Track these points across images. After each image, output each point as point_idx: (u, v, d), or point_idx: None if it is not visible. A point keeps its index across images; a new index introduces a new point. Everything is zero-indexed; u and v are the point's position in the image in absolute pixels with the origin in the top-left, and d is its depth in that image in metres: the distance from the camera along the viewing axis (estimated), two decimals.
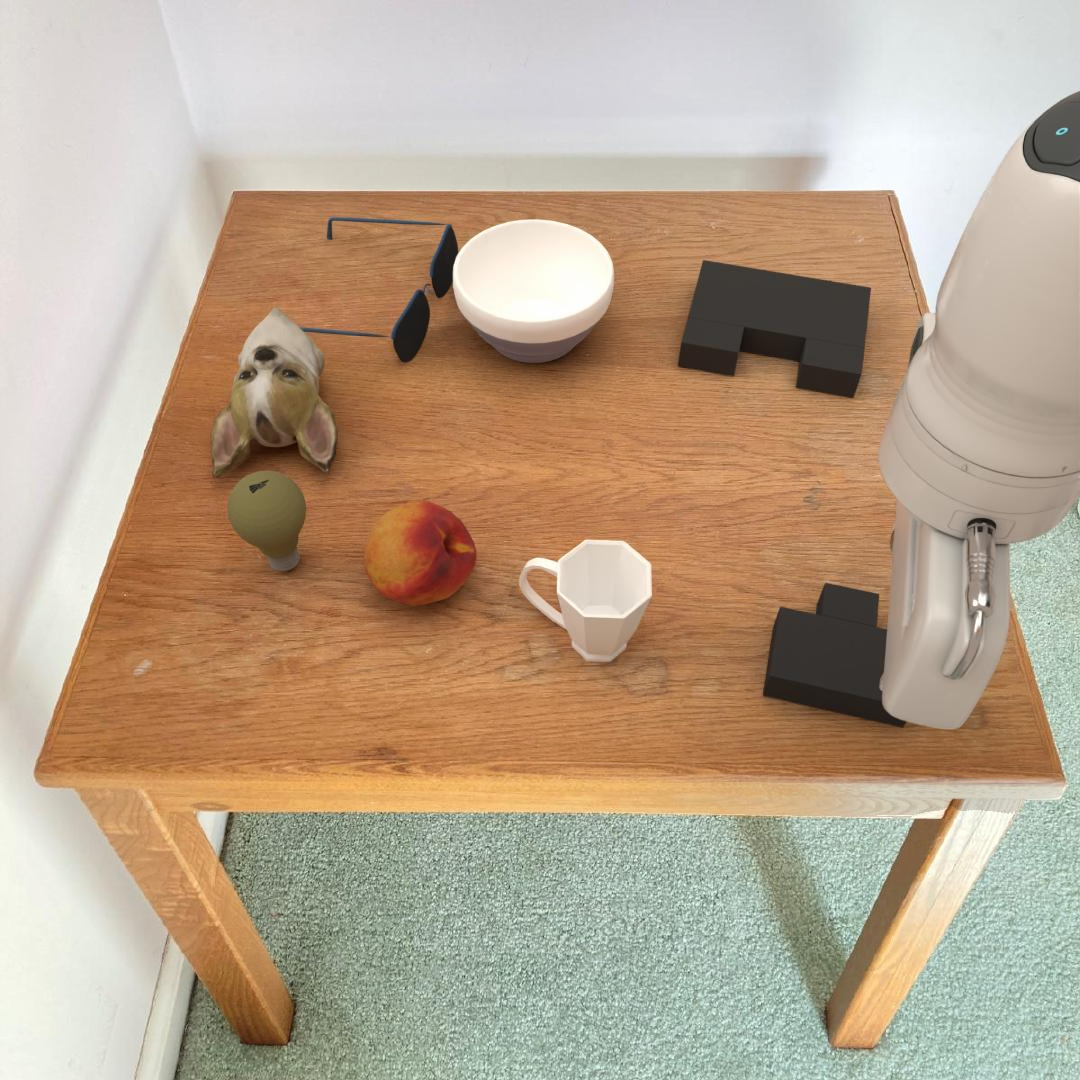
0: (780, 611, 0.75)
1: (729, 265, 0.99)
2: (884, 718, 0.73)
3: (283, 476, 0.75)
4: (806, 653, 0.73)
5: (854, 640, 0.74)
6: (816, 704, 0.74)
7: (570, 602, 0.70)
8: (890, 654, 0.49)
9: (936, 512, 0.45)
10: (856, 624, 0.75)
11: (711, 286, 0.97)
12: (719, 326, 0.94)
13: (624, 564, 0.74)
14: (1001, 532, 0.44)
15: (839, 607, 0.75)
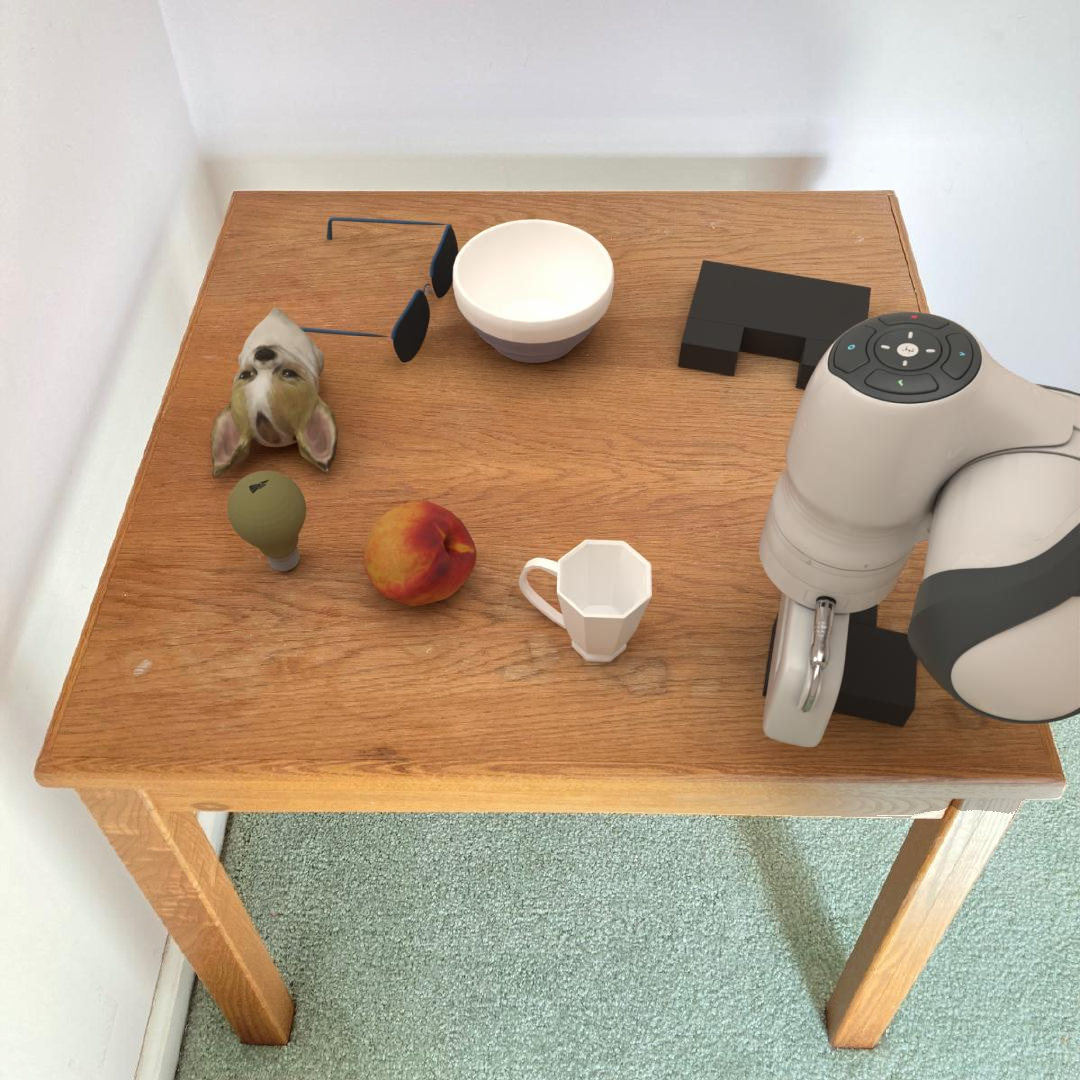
0: None
1: (729, 265, 0.99)
2: (884, 718, 0.73)
3: (283, 476, 0.75)
4: None
5: (853, 640, 0.74)
6: None
7: (570, 602, 0.70)
8: (768, 691, 0.66)
9: (795, 590, 0.62)
10: (855, 624, 0.75)
11: (711, 286, 0.97)
12: (719, 326, 0.94)
13: (624, 564, 0.74)
14: (840, 605, 0.62)
15: None
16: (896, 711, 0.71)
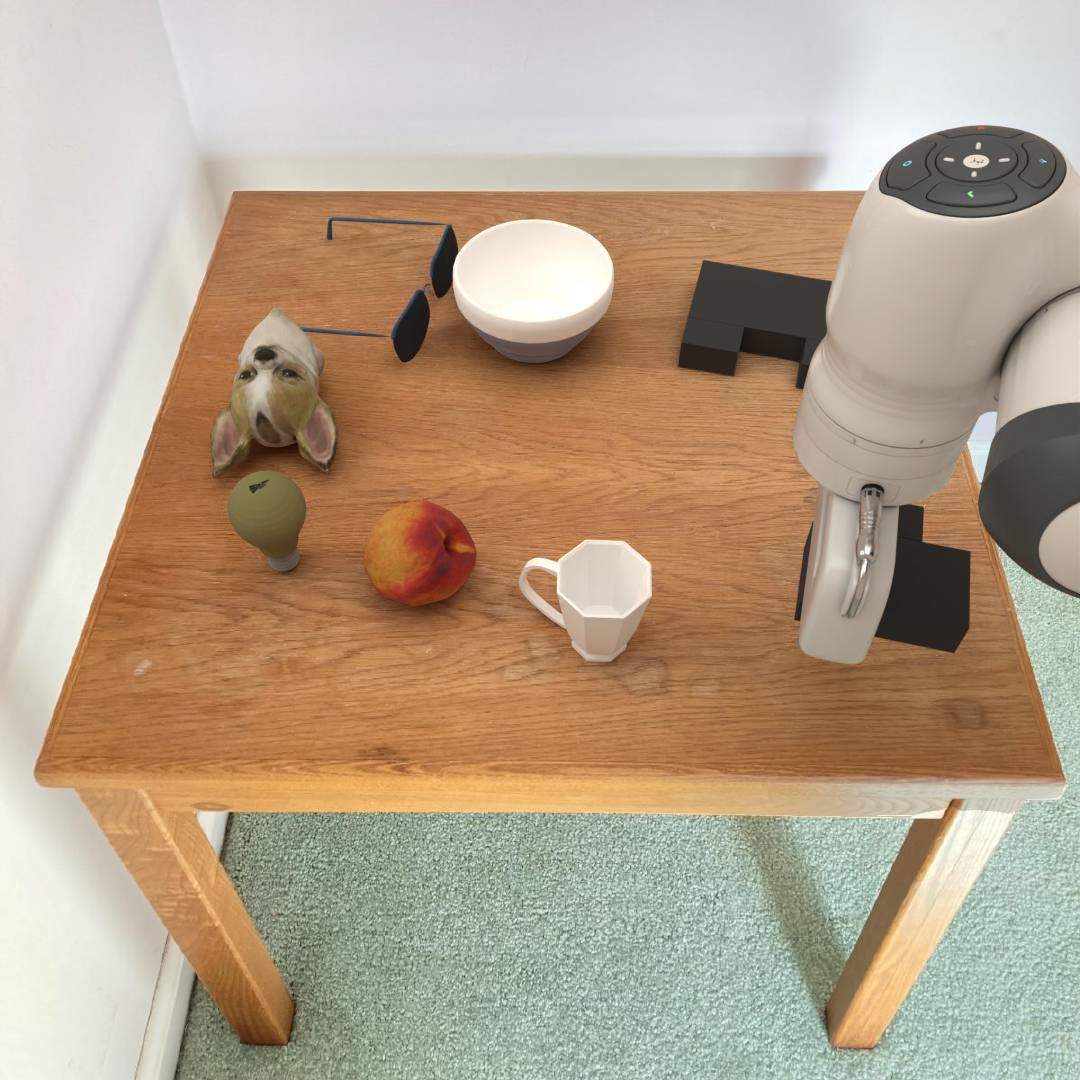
0: None
1: (729, 265, 0.99)
2: (933, 642, 0.64)
3: (283, 476, 0.75)
4: None
5: (897, 556, 0.65)
6: None
7: (570, 602, 0.70)
8: (805, 602, 0.57)
9: (836, 480, 0.54)
10: (899, 539, 0.66)
11: (711, 286, 0.97)
12: (719, 326, 0.94)
13: (624, 564, 0.74)
14: (889, 496, 0.53)
15: None
16: (948, 632, 0.63)
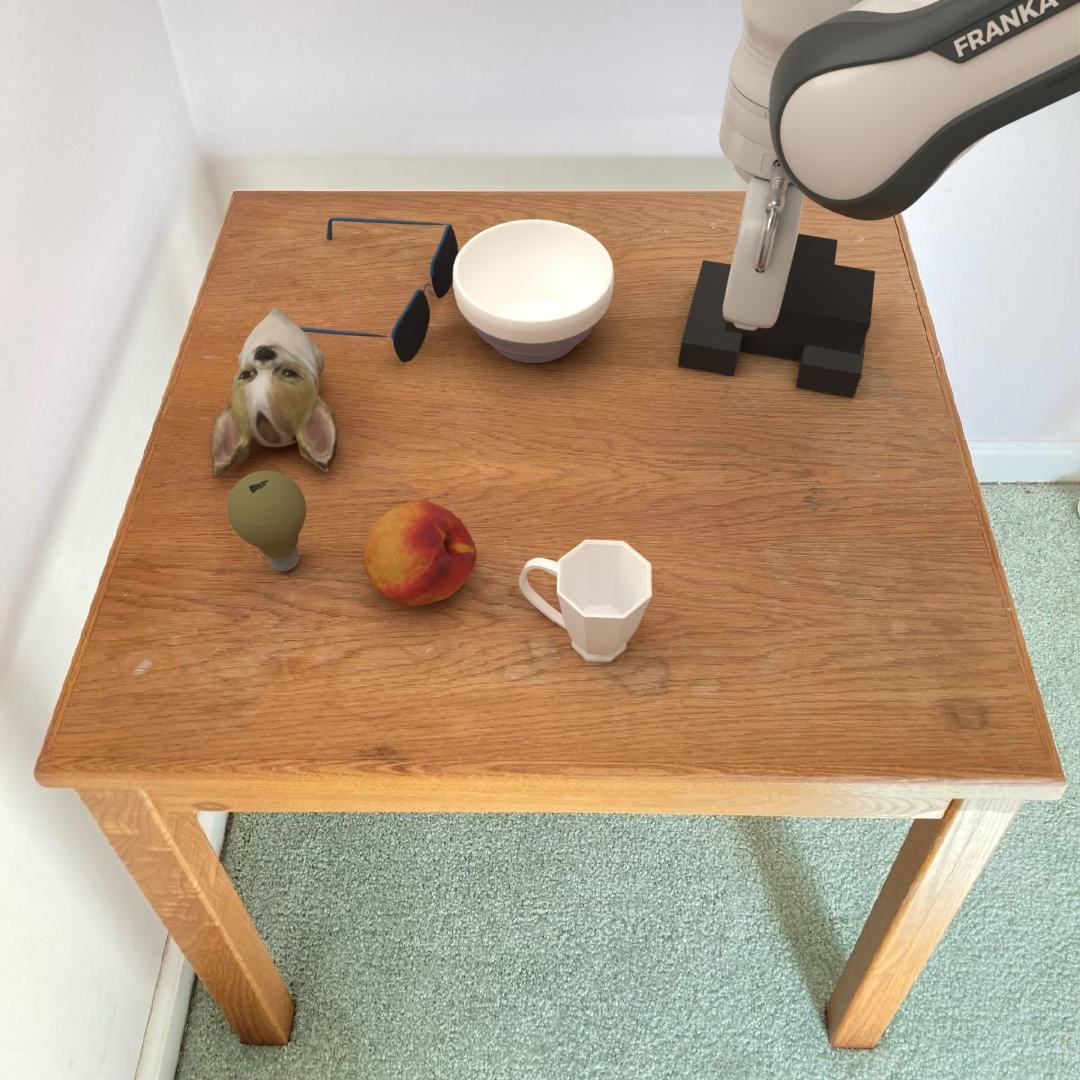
0: None
1: (729, 265, 0.99)
2: (841, 343, 0.75)
3: (283, 476, 0.75)
4: None
5: (812, 273, 0.76)
6: (776, 334, 0.76)
7: (570, 602, 0.70)
8: None
9: (752, 160, 0.64)
10: (814, 262, 0.77)
11: (711, 286, 0.97)
12: (719, 326, 0.94)
13: (624, 564, 0.74)
14: None
15: (799, 249, 0.78)
16: (853, 331, 0.74)
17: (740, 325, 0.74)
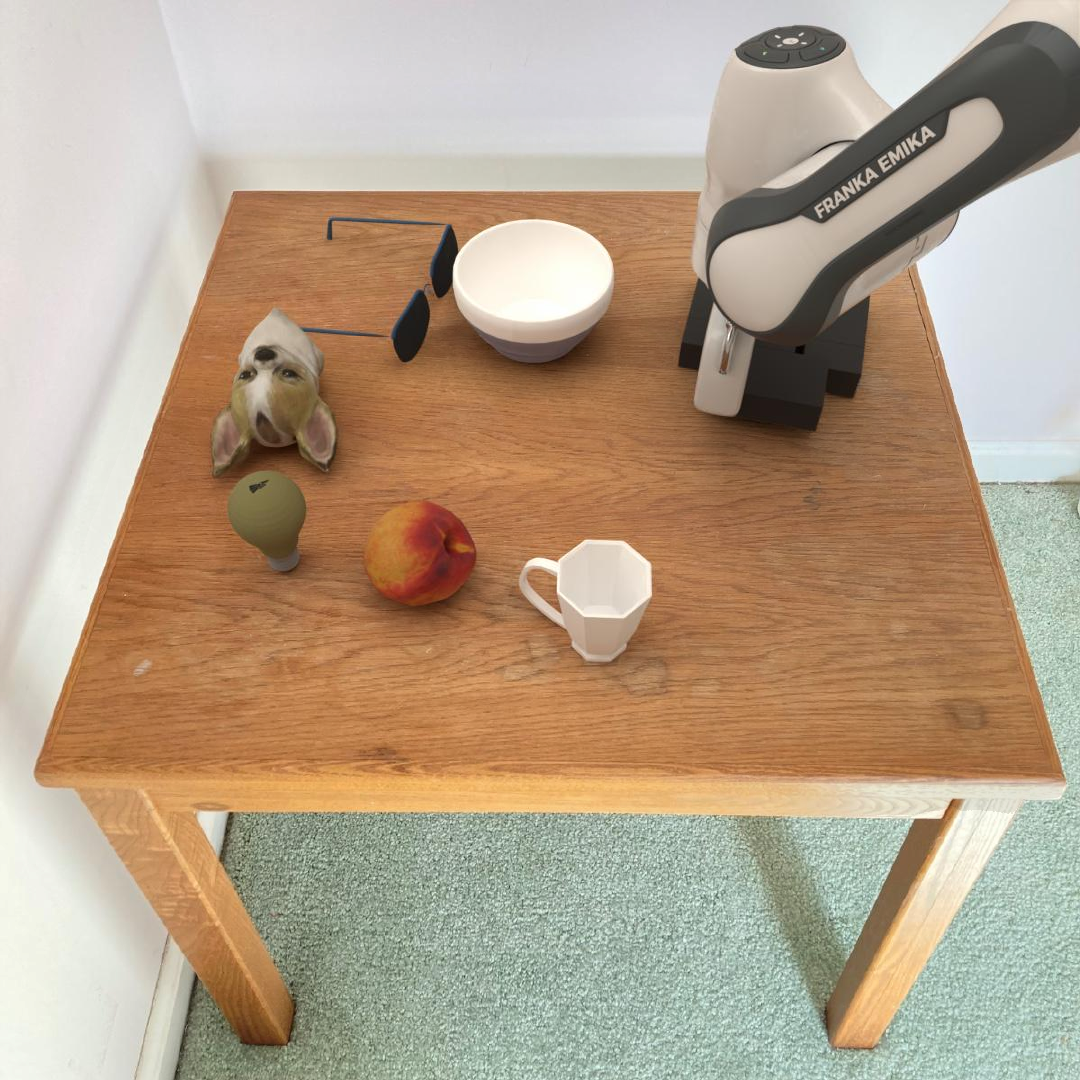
0: None
1: None
2: (799, 422, 0.88)
3: (283, 476, 0.75)
4: None
5: (775, 361, 0.89)
6: (743, 414, 0.89)
7: (570, 602, 0.70)
8: None
9: None
10: (777, 351, 0.90)
11: None
12: None
13: (624, 564, 0.74)
14: None
15: None
16: (808, 413, 0.87)
17: None
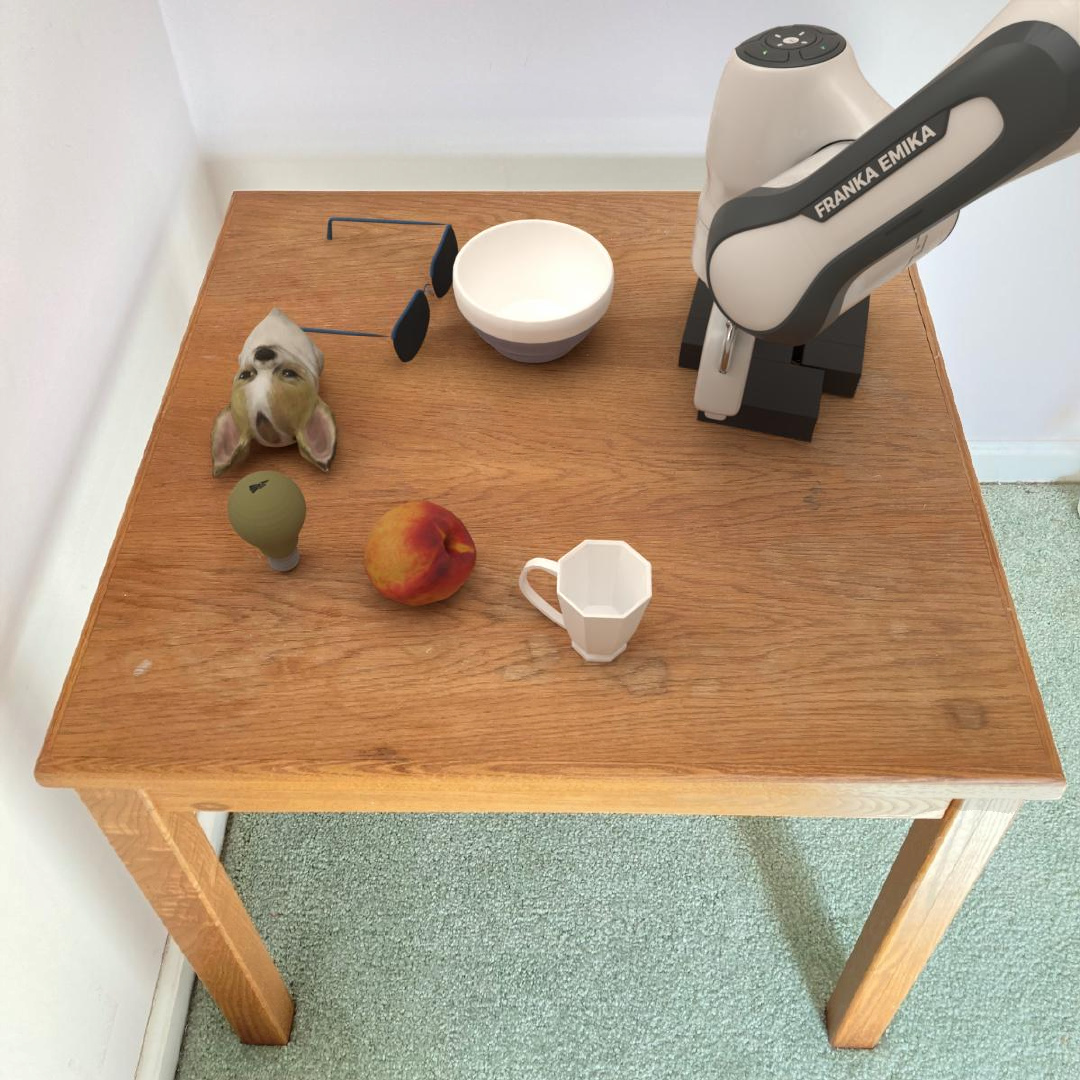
0: None
1: None
2: (794, 433, 0.89)
3: (283, 476, 0.75)
4: None
5: (771, 372, 0.90)
6: (740, 424, 0.90)
7: (570, 602, 0.70)
8: None
9: None
10: (773, 362, 0.91)
11: None
12: None
13: (624, 564, 0.74)
14: None
15: (760, 351, 0.92)
16: (803, 423, 0.88)
17: (710, 416, 0.86)
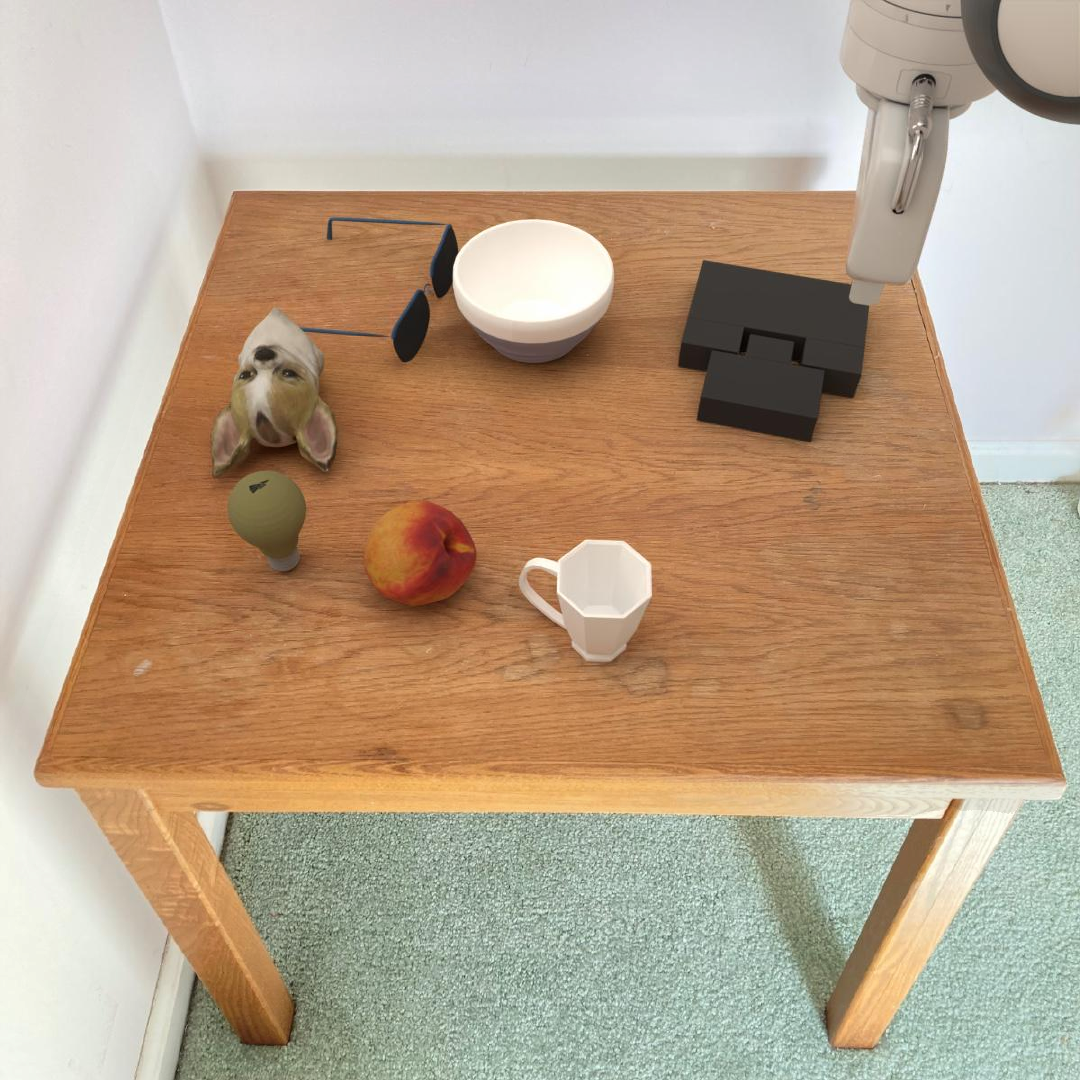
0: (712, 353, 0.92)
1: (729, 265, 0.99)
2: (794, 433, 0.89)
3: (283, 476, 0.75)
4: (731, 382, 0.89)
5: (771, 372, 0.90)
6: (740, 424, 0.90)
7: (570, 602, 0.70)
8: (852, 229, 0.57)
9: (885, 78, 0.53)
10: (773, 362, 0.91)
11: (711, 286, 0.97)
12: (719, 326, 0.94)
13: (624, 564, 0.74)
14: (940, 90, 0.52)
15: (760, 351, 0.92)
16: (803, 423, 0.88)
17: (857, 300, 0.62)
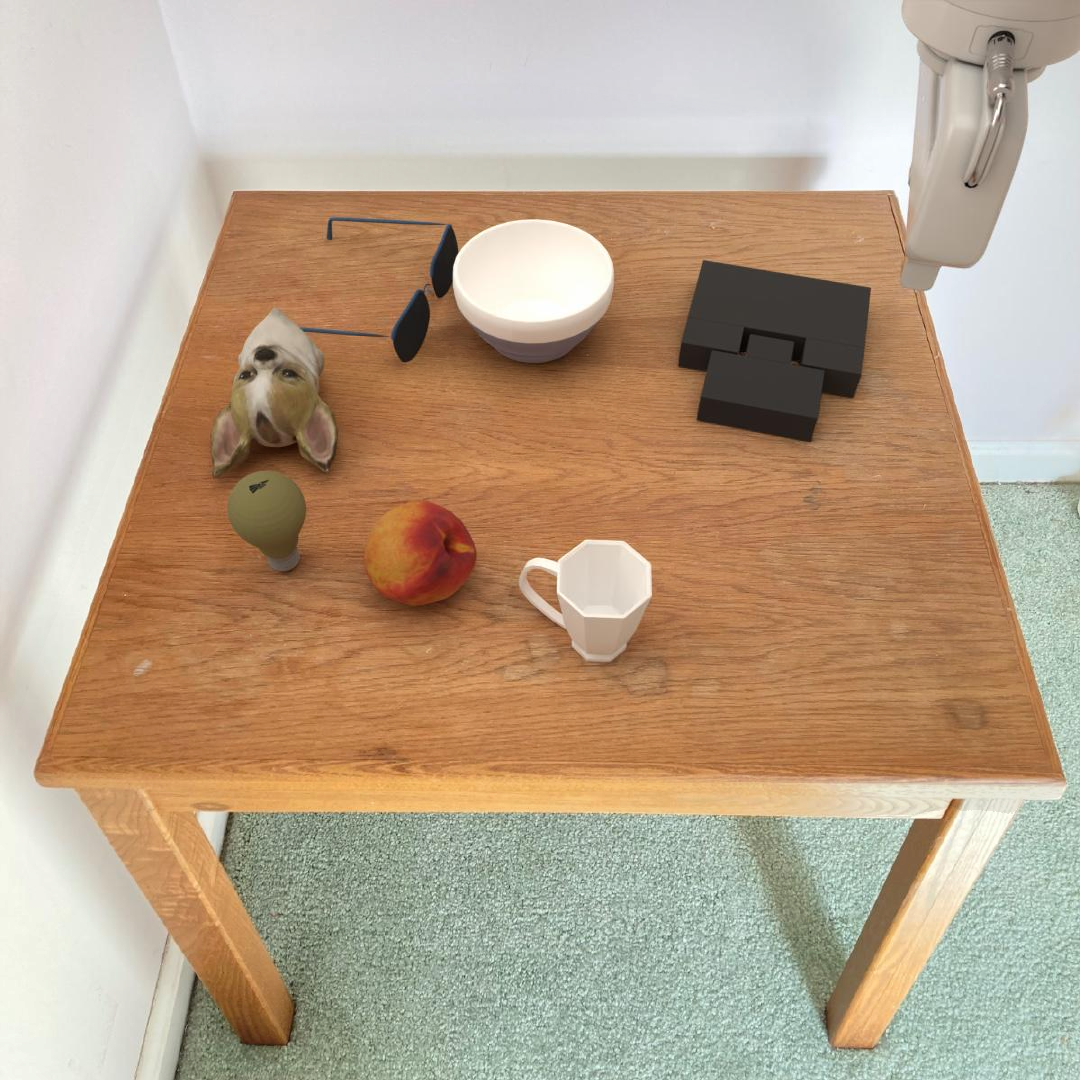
0: (712, 353, 0.92)
1: (729, 265, 0.99)
2: (794, 433, 0.89)
3: (283, 476, 0.75)
4: (731, 382, 0.89)
5: (771, 372, 0.90)
6: (740, 424, 0.90)
7: (570, 602, 0.70)
8: (912, 205, 0.51)
9: (958, 36, 0.47)
10: (773, 362, 0.91)
11: (711, 286, 0.97)
12: (719, 326, 0.94)
13: (624, 564, 0.74)
14: (1019, 50, 0.47)
15: (760, 351, 0.92)
16: (803, 423, 0.88)
17: (908, 284, 0.57)
